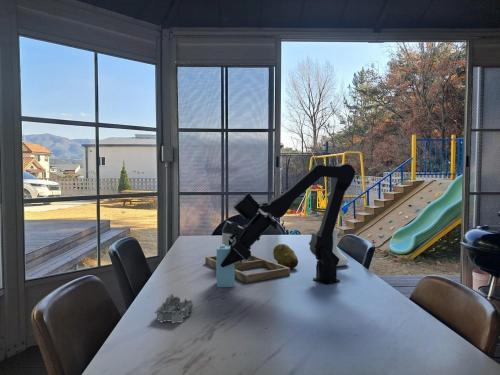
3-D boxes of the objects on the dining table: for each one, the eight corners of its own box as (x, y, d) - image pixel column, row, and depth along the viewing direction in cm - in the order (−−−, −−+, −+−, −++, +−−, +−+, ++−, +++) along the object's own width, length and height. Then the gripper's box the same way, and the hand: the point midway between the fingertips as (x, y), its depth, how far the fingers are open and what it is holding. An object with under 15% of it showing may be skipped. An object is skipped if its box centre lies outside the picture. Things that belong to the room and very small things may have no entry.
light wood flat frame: (290, 275, 137) (290, 268, 137) (246, 282, 128) (246, 275, 128) (244, 258, 163) (244, 252, 163) (205, 263, 154) (205, 257, 154)
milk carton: (233, 281, 129) (233, 243, 129) (234, 286, 124) (234, 246, 123) (216, 282, 129) (216, 243, 128) (217, 287, 123) (216, 246, 123)
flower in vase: (346, 269, 144) (347, 202, 143) (316, 267, 148) (316, 201, 147) (349, 261, 157) (350, 199, 156) (321, 259, 161) (321, 199, 159)
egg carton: (172, 308, 105) (171, 293, 105) (197, 311, 103) (197, 295, 103) (151, 322, 95) (151, 305, 95) (179, 326, 93) (179, 309, 93)
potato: (276, 270, 143) (277, 249, 142) (271, 262, 156) (271, 242, 155) (299, 270, 144) (299, 248, 143) (292, 262, 156) (292, 242, 156)
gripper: (235, 209, 135) (203, 241, 134) (240, 215, 116) (202, 253, 116) (257, 231, 136) (226, 263, 135) (266, 241, 118) (229, 278, 117)
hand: (221, 264), depth 126 cm, fingers closed on milk carton, 5 cm apart
